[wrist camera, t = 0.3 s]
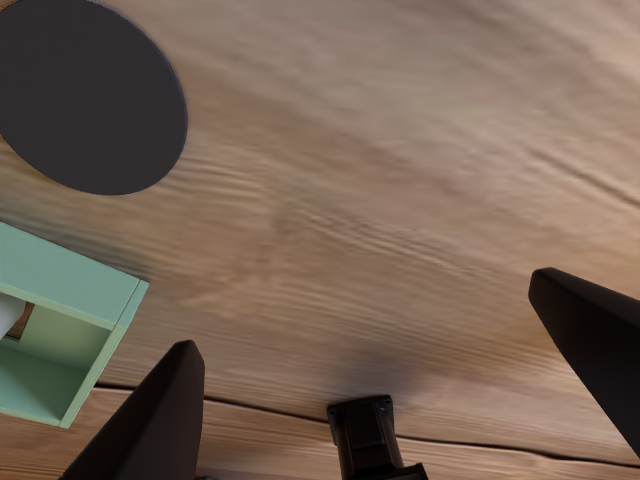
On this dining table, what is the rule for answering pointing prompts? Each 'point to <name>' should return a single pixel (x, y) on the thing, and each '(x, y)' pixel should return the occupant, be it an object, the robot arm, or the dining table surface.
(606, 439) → the dining table surface
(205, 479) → the juice carton
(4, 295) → the can
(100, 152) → the coaster
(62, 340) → the green open box
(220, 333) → the dining table surface
